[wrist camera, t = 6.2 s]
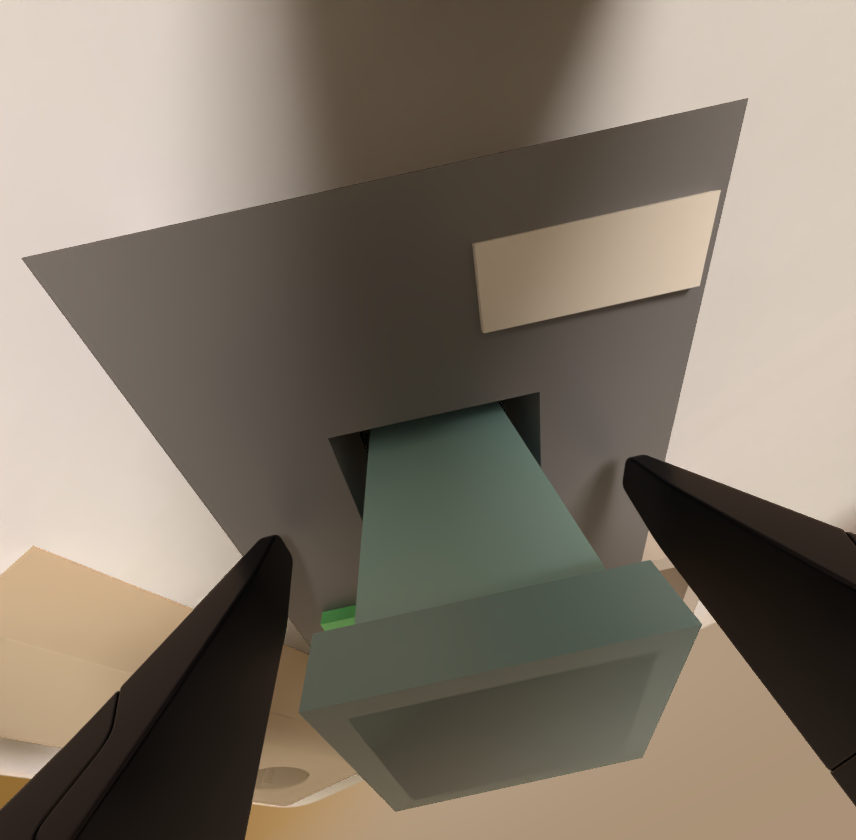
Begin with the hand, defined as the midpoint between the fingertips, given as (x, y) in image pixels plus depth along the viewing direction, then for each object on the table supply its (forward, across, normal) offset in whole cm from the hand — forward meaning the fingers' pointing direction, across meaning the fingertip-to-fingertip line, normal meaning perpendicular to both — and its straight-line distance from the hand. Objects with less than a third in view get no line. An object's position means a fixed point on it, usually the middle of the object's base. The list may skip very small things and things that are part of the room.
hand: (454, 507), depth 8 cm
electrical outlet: (+4, +14, +11) cm, 18 cm away
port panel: (+4, 0, 0) cm, 4 cm away
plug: (+4, 0, 0) cm, 4 cm away
